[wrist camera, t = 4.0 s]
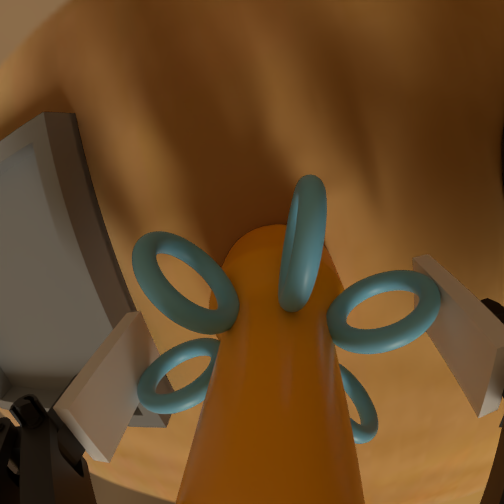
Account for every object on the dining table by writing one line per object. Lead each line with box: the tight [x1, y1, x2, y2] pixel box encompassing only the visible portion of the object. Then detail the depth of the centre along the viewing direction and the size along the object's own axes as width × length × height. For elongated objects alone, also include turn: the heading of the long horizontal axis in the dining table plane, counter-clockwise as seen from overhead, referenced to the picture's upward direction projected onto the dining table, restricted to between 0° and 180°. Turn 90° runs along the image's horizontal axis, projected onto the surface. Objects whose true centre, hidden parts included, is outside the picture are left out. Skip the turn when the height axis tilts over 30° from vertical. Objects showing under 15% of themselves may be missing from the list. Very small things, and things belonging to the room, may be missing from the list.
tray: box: [0, 112, 174, 428], centre depth 18 cm, size 20×20×3 cm
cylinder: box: [132, 175, 441, 504], centre depth 10 cm, size 12×10×15 cm
